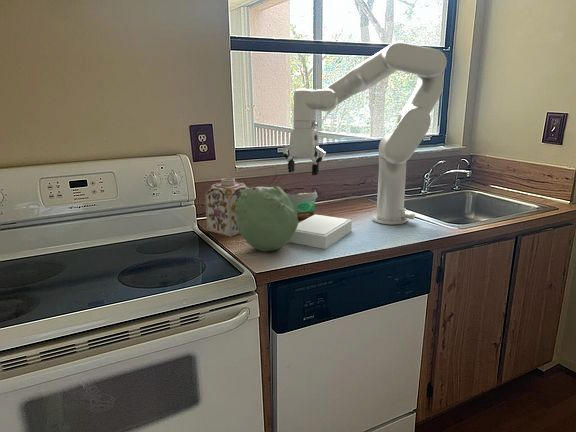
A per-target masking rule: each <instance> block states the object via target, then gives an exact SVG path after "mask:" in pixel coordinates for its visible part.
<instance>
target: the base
mask: <svg viewBox="0 0 576 432" xmlns="http://www.w3.org/2000/svg"><path fill="white" fill-rule="evenodd" d="M352 222H353V220H352V219H348V218H342V217H336V216H335V217H334V216H328V215H320V214H314V215H313V216H311V217H309V218H307V219H305V220H303V221H299V222H298V226H297V229H296V230H295V232H294V233H293V236H292V237H291V239H290V240H289V241H288V242H287V243H291V244H292V243H293V244H296V245H297V244H298V245H302V246H307V247H314V248H319V249H323V250H324V249H325V250H326V249H328V248H329V247H331V246H332V245H334V244H335V243H336V242H338V241H339V240H341V239H342V238H344V237H345V236H347V235H348V234H350V233H351V232H352V228H353V227H352Z"/></svg>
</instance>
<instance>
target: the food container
mask: <svg viewBox="0 0 576 432" xmlns="http://www.w3.org/2000/svg"><path fill="white" fill-rule="evenodd" d="M286 194H287V196H288V198H289V200H290V201H291V203H292V205H293V206H294V208H295V209H296V212H297V219H298V222H301V221H303V220H305V219H307V218H309V217H311V216H313V215H315V205H316V199H317V198H318V193H317V191H316V189H314V190H313V192H299V193H294V194H293V193H288V192H286Z"/></svg>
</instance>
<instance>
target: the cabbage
mask: <svg viewBox="0 0 576 432" xmlns="http://www.w3.org/2000/svg"><path fill="white" fill-rule="evenodd" d="M241 194H242V195H240V196H239V197H240V198H239V199H236V200H238V203H235V204H234V205H235V206H236V207H235V212H236V218H237V228H238V230H239V232H240V235H241V237H242V238H243V239H244V241H245V242H246V243H247V244H248V245H249V246H251V247H252V248H253V249H255V250H258V251H262V252H271V251H277V250H279V249H281V248H283V247H284V246H285V245H287V244H288V243H289V242H288V241H289V240H290V239H291V237H292V236H293V233H294V232H295V230H296V229H297V226H298V223H299V221H298V219H297V212H296V209H295V208H294V206H293V205H292V203H291V201H290V200H289V198H288V196H287V192H285V191H284V190H283V189H282V188H281V187H280V186H277V185H275V186H270V187H269V186H252V187H248V188H246V189H244V190H243V192H242V193H241Z"/></svg>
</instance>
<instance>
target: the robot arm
mask: <svg viewBox="0 0 576 432" xmlns="http://www.w3.org/2000/svg"><path fill="white" fill-rule="evenodd" d="M447 63H448V61H447V57H446V55H445V54H444V53H443V51H441V50H439V49H436V48H434V47H433V48H432V47H427V46H421V45H416V44H412V43H411V44H410V43H406V42H401V41H399V42H398V41H397V42H393V43H391V44H389V45H387V46H386V47H384V48H383V49H381V50H380V51H378V52H376V53H374V55H371V56H370V57H368V58H367V59H366V60H363V61H362V62H361V63H359V64H358V65H356V66H355V67H353V68H352V69H351V70H350V71H348V72H347V73H346V74H344V75H343V76H341V77H340V78H339V79H337V80H335V81H333V82H332V83H331V84H329V85H327V86H326V87H325V88H322V89H316V90H315V89H310V88H298V89H296V90H295V91H294V93H293V126H292V127H293V128H292V129H291V131H290V137H289V145H286V146H285V147H282V148H281V151H282V153H283V156H284V158H285V159H286V162H287V163H288V164H287V170H288V173H293V172H295V158H299V159H310V160H311V162H312V163H313V164H312V165H311V175H312V176H317V175H318V173H319V170H320V169H319V168H320V167H319V165H320V163H322V161H323V160H324V158H325V157H326V154H327V152H326V151H324V149H323V148H320V144H319V143H320V142H319V133H318V130H317V129H316V127H319V123H318V122H316V111H321V112H325V113H326V112H331V111H333V110H334V109H336V107H337V106H338V105H340V104H341V103H343V102H344V101H346V100H348V99H349V98H351V97H353V96H354V95H356V94H358V93H362V92H364V91H367V90H368V89H370V88H372V87H374V86H375V85H376V84H378V83H380V82H381V81H383V80H385V79H386V78H387V77H389V76H391V75H393V74H394V73H396V72H397V71H399V72H404V73H408V74H412V75H416V76H417V84H416V87H415V88H414V90H413V92H412V94H411V96H410V97H409V98H408V100H407V101H406V104H405V105H404V107H403V108H402V109H401V111H400V112H399V114H398V116H397V121H396V122H397V125H396V127H395V128H394V129H393V131H392V132H389V133H387V134H385V135H384V136H383V137H382V138H381V139H380V142H379V143H378V179H377V181H378V183H377V197H376V198H377V200H376V213H374V214H372V215H371V219H372V221H374V222H375V223H378V224H383V225H391V226H392V225H394V226H395V225H402V224H405V223H407V222H408V220H415V219H416V214H415V213H414V212H410V211H409V212H408V211H407V208H406V207H405V191H406V177H407V176H406V175H407V174H406V173H407V162H408V160H410V159H411V157H412V156H413V154H414V153H415V151H416V150H417V149H418V147H419V146H420V143H422V140H423V139H424V138H425V136H426V135H427V133H428V131H429V129H430V127H431V123H432V119H431V115H430V114H431V112H432V111H433V110H434V107H435V105H436V104H437V102H438V100H439V99H440V97H441V95H442V92H443V90H444V89H443V88H444V74H443V72H444V71H445V70H446V67H447Z"/></svg>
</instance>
